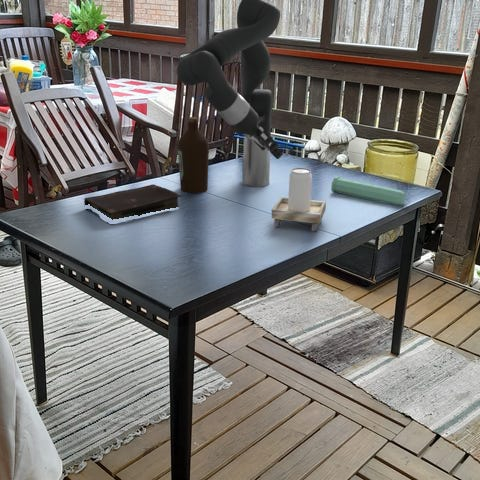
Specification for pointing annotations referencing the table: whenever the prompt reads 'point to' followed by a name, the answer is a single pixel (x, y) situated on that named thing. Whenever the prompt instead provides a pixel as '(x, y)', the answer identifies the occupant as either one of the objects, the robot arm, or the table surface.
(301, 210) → the can
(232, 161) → the table surface
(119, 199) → the diary
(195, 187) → the olive oil
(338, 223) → the table surface
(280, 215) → the shallow wooden tray
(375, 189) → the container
